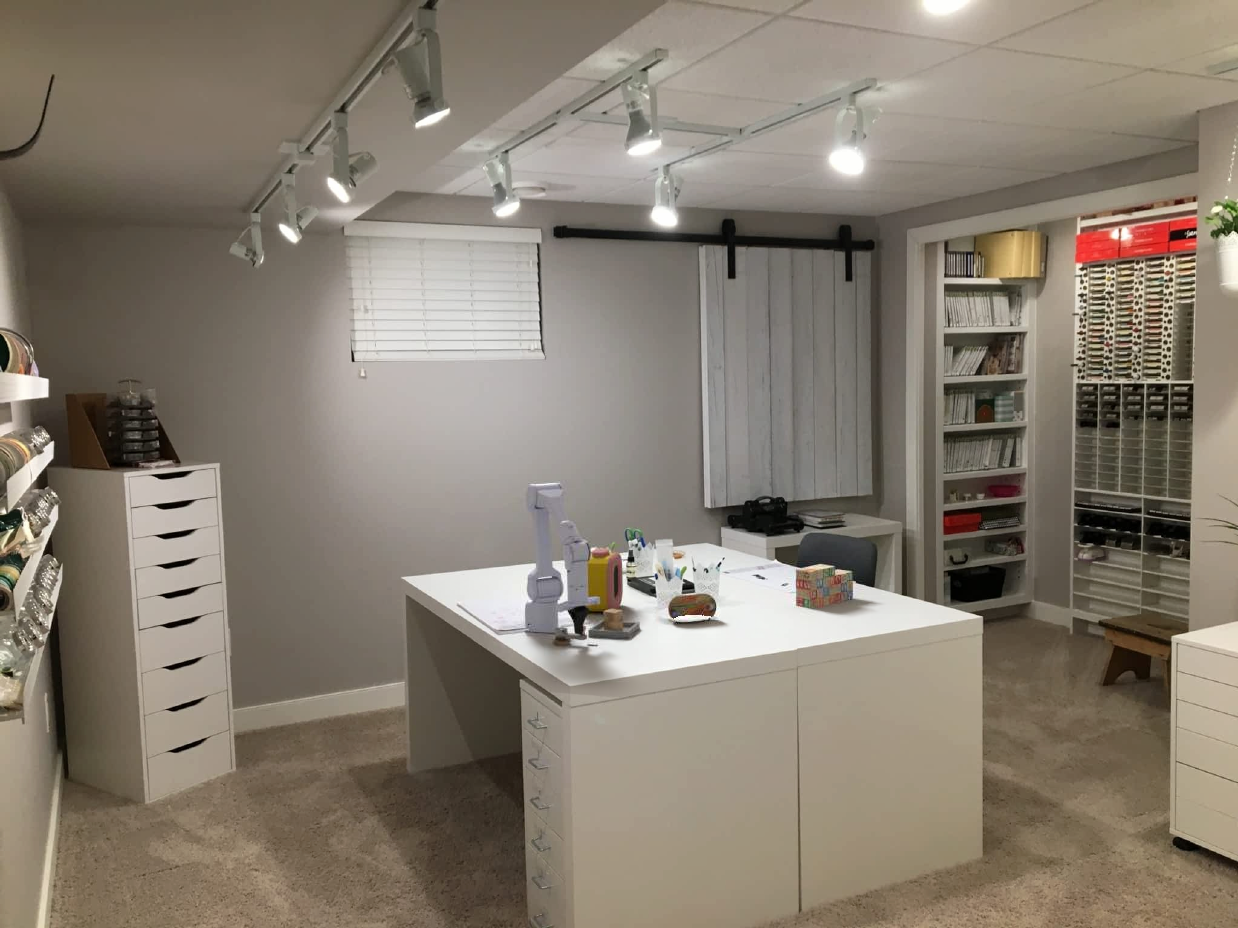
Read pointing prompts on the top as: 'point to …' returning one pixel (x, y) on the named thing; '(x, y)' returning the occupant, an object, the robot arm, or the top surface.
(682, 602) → the tin
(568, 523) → the robot arm
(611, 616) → the stop block
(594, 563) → the alarm clock
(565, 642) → the crank base
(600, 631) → the tray
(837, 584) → the stack of blocks
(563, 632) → the crank
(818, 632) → the top surface
